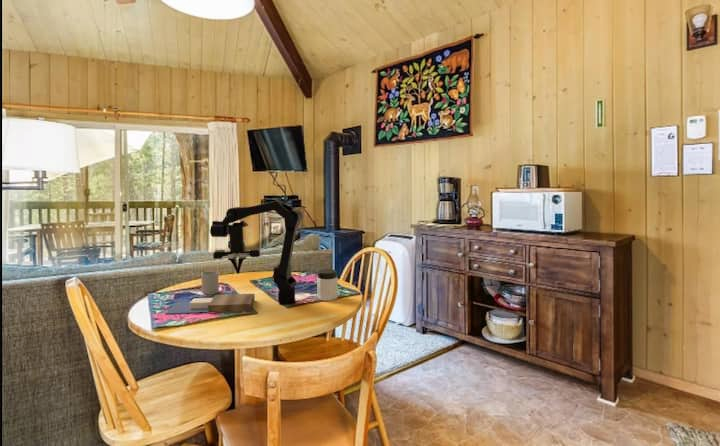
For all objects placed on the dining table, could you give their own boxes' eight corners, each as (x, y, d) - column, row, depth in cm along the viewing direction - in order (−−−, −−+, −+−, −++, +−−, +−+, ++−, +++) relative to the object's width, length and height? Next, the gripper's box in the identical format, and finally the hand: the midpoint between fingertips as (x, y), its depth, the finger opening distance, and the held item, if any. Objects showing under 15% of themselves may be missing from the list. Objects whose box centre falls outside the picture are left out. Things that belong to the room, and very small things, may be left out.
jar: (315, 296, 188) (315, 269, 186) (332, 294, 191) (332, 268, 189) (321, 302, 179) (321, 274, 178) (339, 299, 183) (339, 272, 181)
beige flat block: (213, 303, 176) (213, 297, 175) (210, 308, 170) (210, 302, 169) (193, 304, 175) (193, 298, 174) (189, 308, 169) (189, 302, 168)
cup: (205, 295, 188) (204, 275, 187) (197, 290, 195) (196, 271, 194) (221, 292, 193) (220, 273, 191) (212, 287, 200) (212, 269, 199)
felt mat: (215, 301, 179) (215, 300, 179) (208, 312, 165) (208, 311, 165) (176, 303, 177) (176, 302, 177) (165, 314, 163) (165, 313, 163)
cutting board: (254, 300, 181) (254, 293, 181) (250, 311, 167) (250, 303, 167) (215, 301, 179) (215, 294, 179) (208, 312, 165) (208, 305, 165)
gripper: (260, 233, 188) (262, 268, 190) (216, 235, 185) (218, 270, 187) (258, 237, 177) (260, 273, 179) (212, 239, 174) (214, 276, 176)
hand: (238, 273), depth 180 cm, fingers closed
